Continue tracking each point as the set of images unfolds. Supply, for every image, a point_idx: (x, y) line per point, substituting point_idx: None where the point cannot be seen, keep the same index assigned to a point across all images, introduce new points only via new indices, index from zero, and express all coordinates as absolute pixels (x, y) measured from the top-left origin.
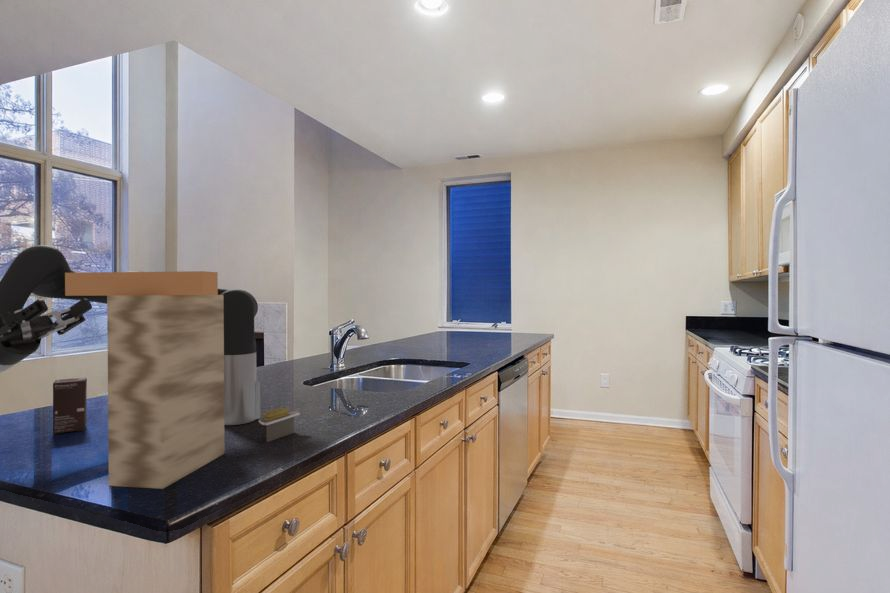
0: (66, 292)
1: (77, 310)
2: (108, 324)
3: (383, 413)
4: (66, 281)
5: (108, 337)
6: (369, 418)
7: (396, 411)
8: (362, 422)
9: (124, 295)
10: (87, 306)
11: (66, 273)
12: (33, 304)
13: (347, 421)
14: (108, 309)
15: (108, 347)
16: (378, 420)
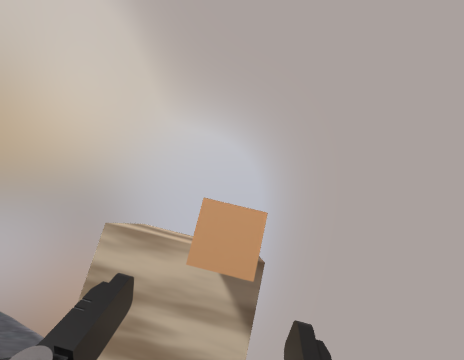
0: (254, 271)
1: (99, 341)
2: (254, 313)
3: (3, 326)
4: (261, 237)
5: (249, 338)
6: (14, 337)
7: (6, 318)
8: (27, 343)
9: (260, 258)
10: (130, 303)
11: (266, 214)
12: (324, 351)
13: (6, 353)
14: (259, 286)
15: (245, 358)
16: (32, 333)
